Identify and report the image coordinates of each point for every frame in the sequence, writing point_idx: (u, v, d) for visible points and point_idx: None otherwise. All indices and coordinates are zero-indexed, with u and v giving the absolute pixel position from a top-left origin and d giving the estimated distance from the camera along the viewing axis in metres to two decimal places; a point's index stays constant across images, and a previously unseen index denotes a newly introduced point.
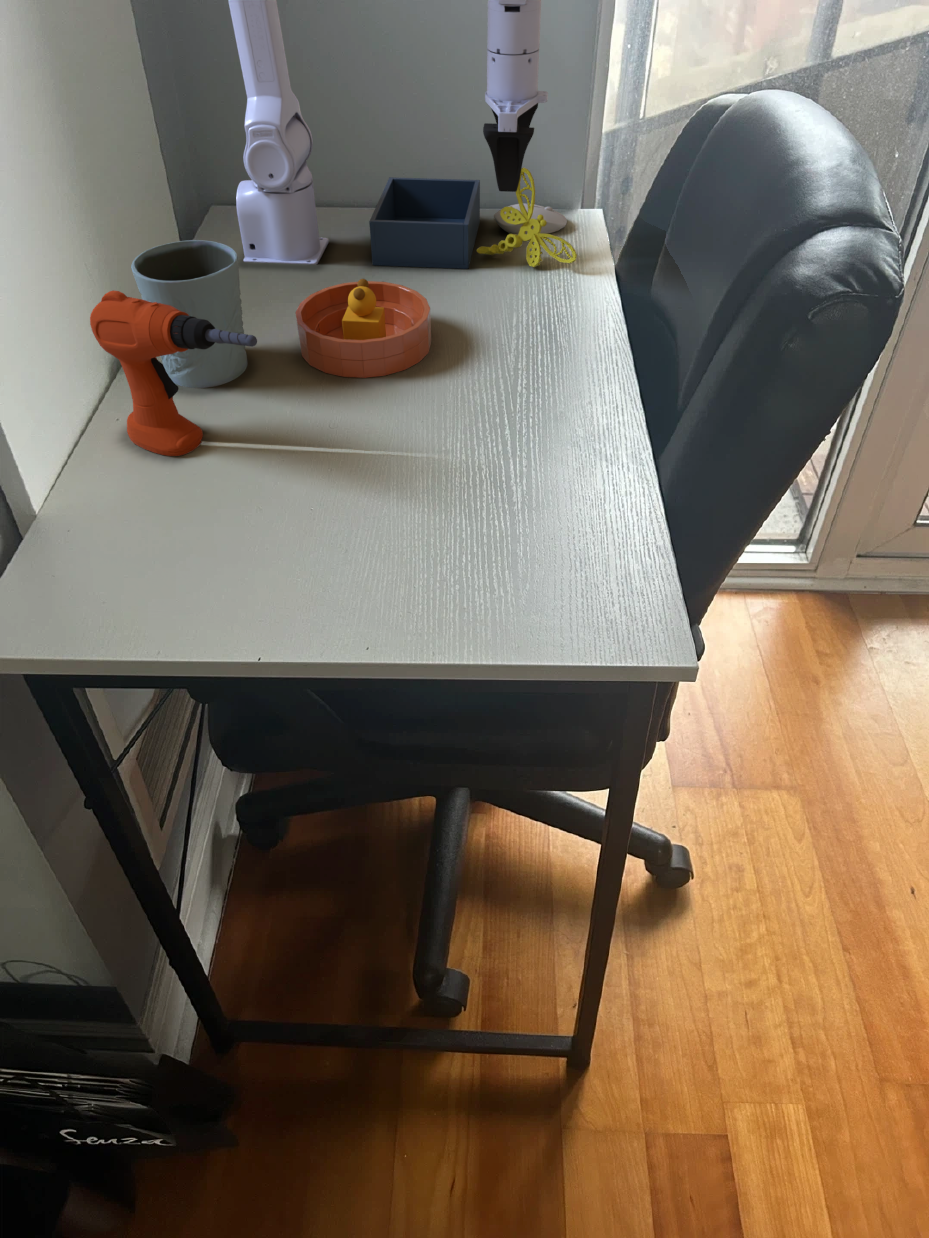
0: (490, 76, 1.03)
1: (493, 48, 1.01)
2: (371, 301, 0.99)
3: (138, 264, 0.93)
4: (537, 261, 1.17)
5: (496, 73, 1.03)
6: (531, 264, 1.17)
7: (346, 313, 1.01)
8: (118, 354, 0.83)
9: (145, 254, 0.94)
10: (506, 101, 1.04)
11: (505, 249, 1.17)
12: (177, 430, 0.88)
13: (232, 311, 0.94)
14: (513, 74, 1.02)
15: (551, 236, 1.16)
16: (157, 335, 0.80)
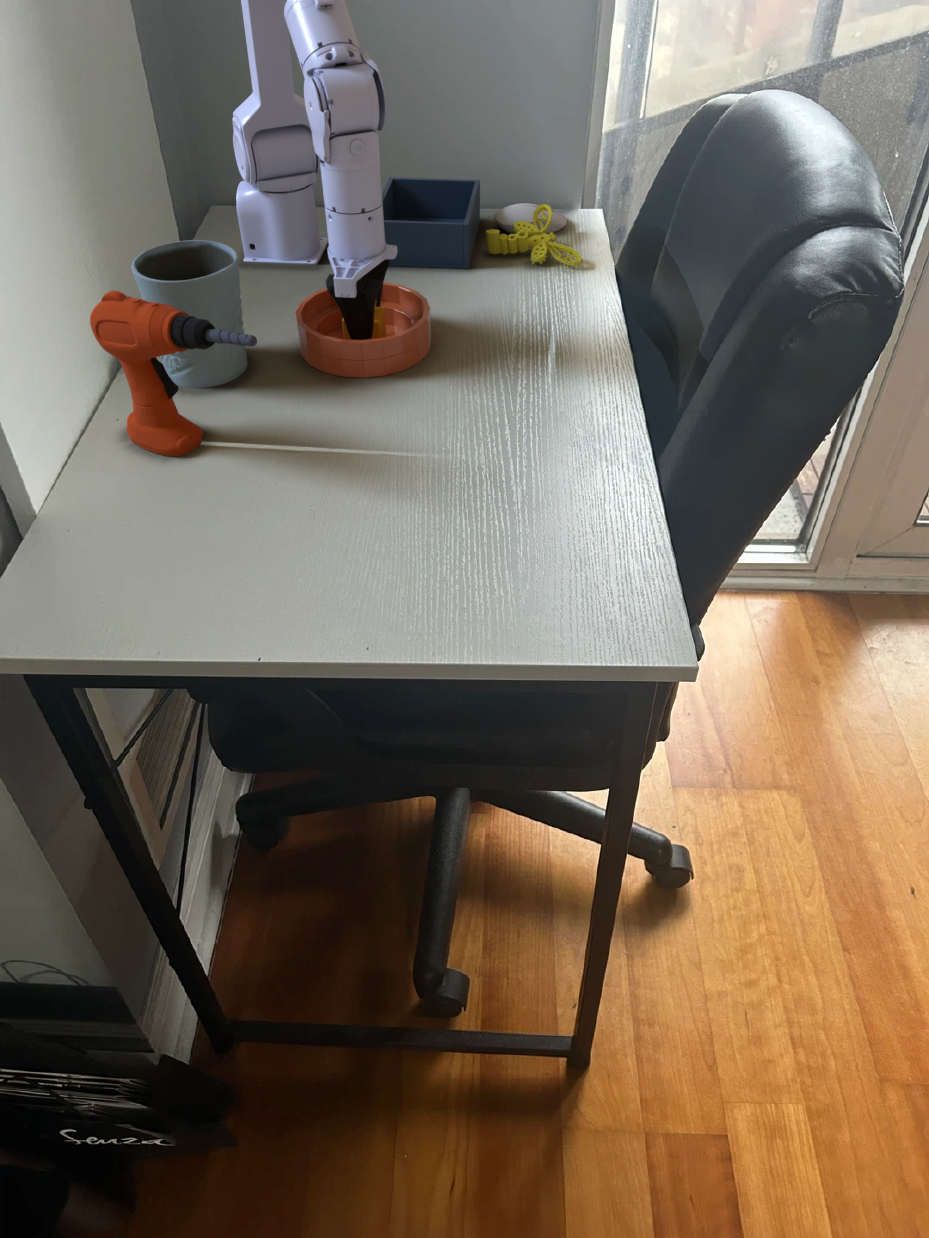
0: (329, 233, 0.93)
1: None
2: None
3: (138, 264, 0.93)
4: (542, 256, 1.18)
5: (334, 230, 0.92)
6: (535, 257, 1.18)
7: None
8: (118, 354, 0.83)
9: (145, 254, 0.94)
10: (347, 260, 0.94)
11: (513, 240, 1.19)
12: (177, 430, 0.88)
13: (232, 311, 0.94)
14: (352, 233, 0.92)
15: (560, 245, 1.19)
16: (157, 335, 0.80)
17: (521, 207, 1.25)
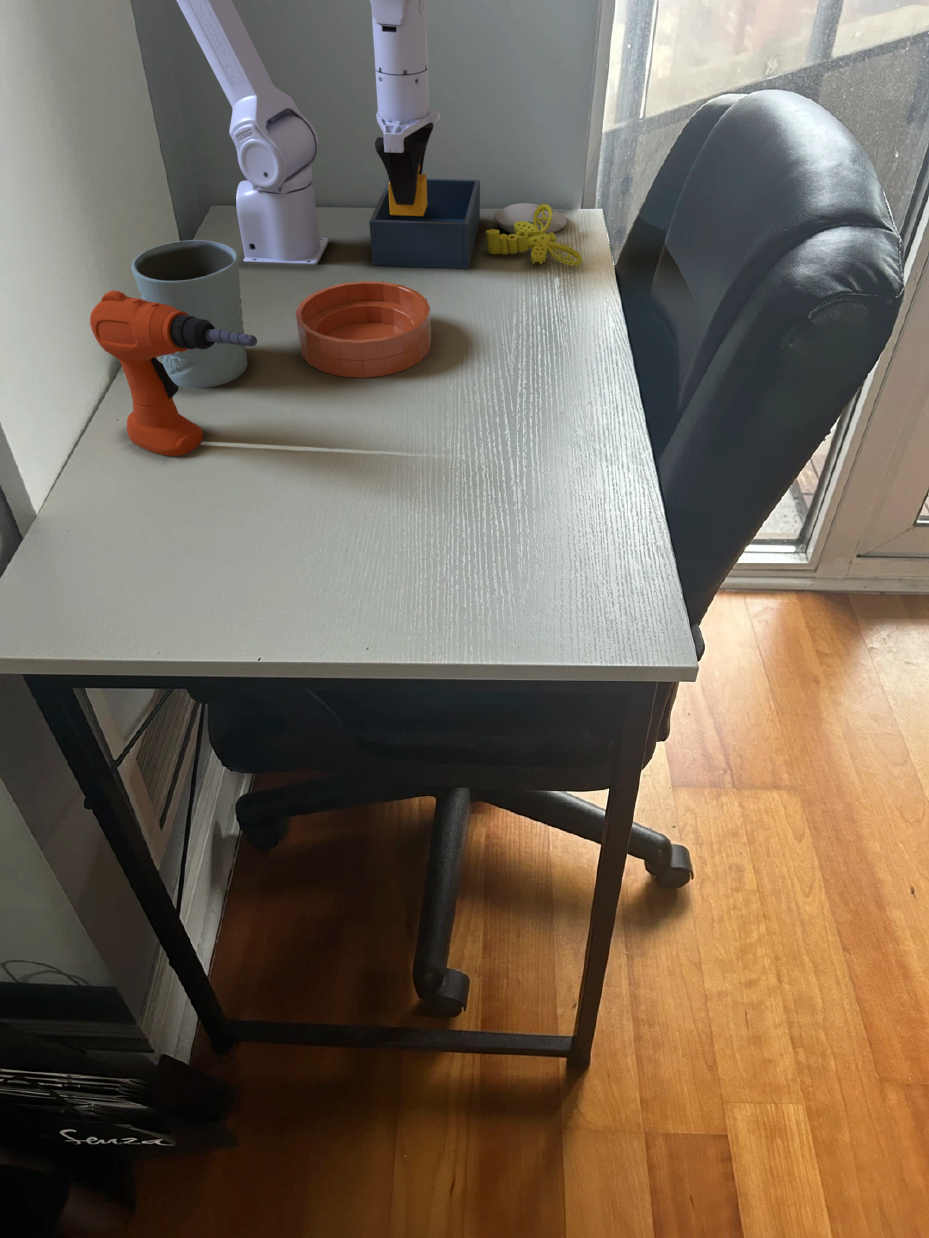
0: (379, 96, 1.03)
1: (377, 67, 1.01)
2: None
3: (138, 264, 0.93)
4: (542, 256, 1.18)
5: (383, 92, 1.02)
6: (535, 257, 1.18)
7: None
8: (118, 354, 0.83)
9: (145, 254, 0.94)
10: (395, 121, 1.03)
11: (513, 240, 1.19)
12: (177, 430, 0.88)
13: (232, 311, 0.94)
14: (400, 94, 1.01)
15: (560, 245, 1.19)
16: (157, 335, 0.80)
17: (521, 207, 1.25)
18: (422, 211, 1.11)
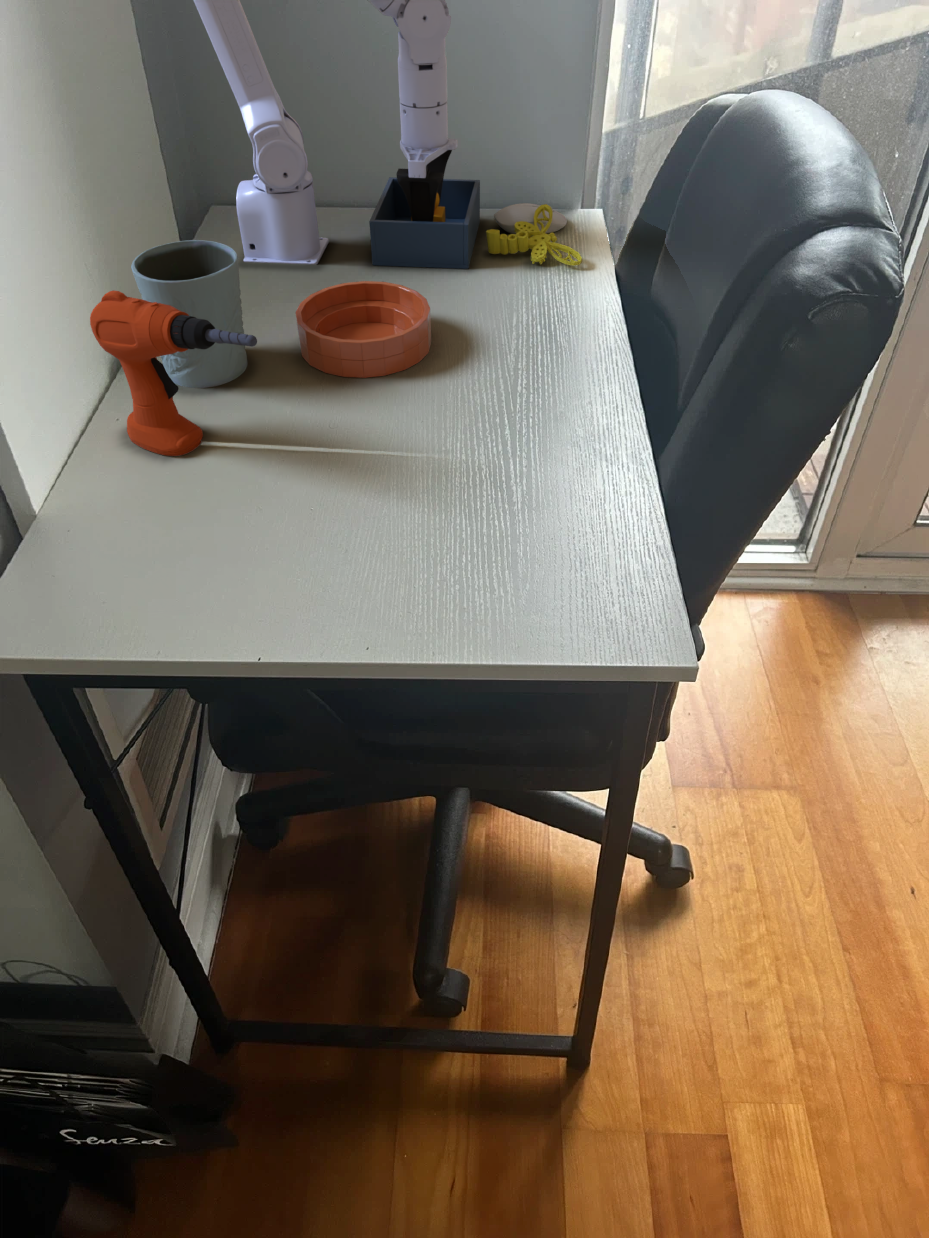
0: (403, 126, 1.13)
1: (409, 103, 1.10)
2: (436, 199, 1.19)
3: (138, 264, 0.92)
4: (542, 256, 1.18)
5: (407, 123, 1.12)
6: (535, 257, 1.18)
7: None
8: (118, 354, 0.83)
9: (145, 254, 0.94)
10: (417, 149, 1.13)
11: (514, 240, 1.19)
12: (177, 430, 0.88)
13: (232, 311, 0.94)
14: (423, 124, 1.11)
15: (560, 245, 1.19)
16: (157, 335, 0.80)
17: (521, 207, 1.25)
18: None
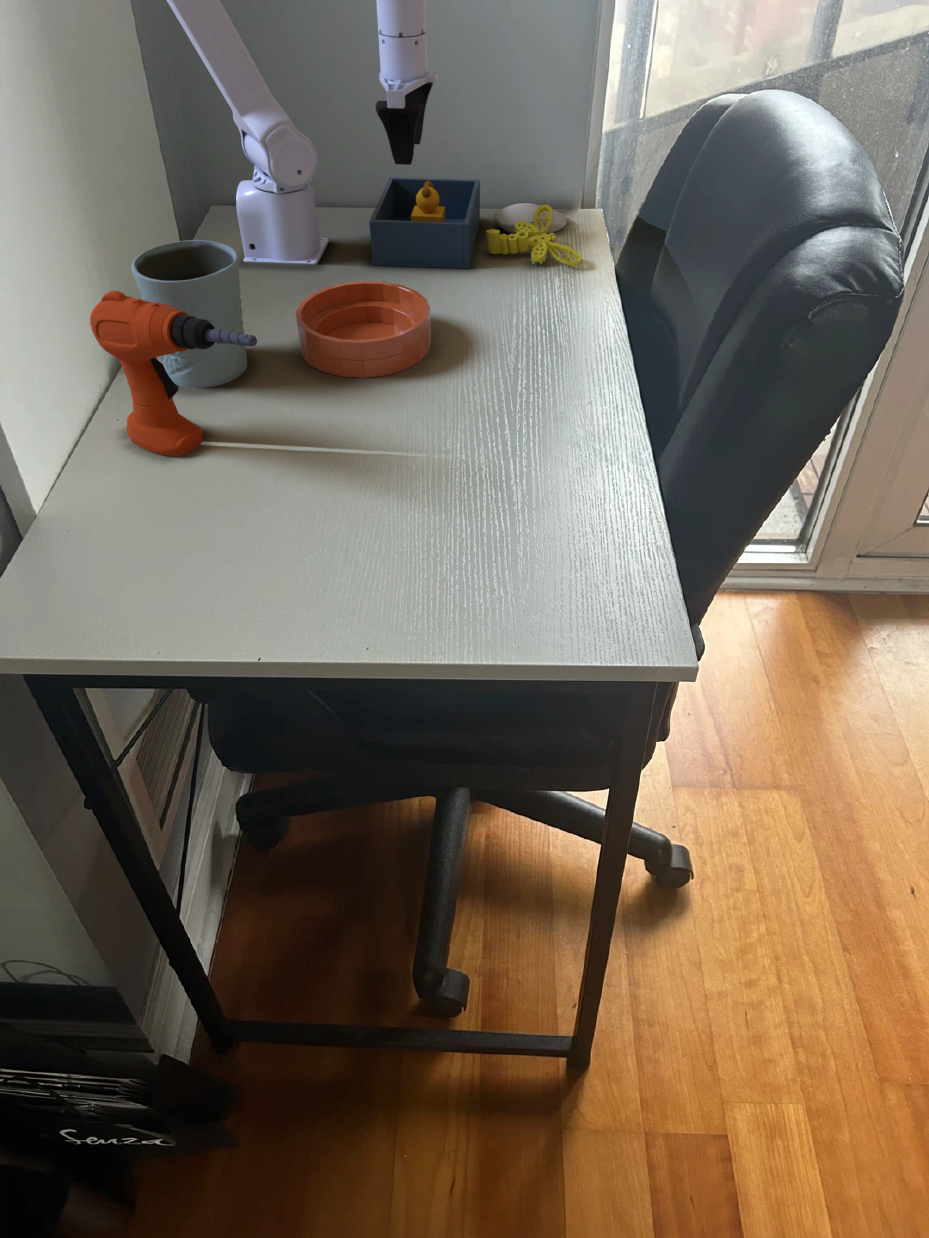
0: (381, 57, 1.12)
1: (394, 33, 1.09)
2: (436, 199, 1.19)
3: (138, 264, 0.93)
4: (542, 256, 1.18)
5: (386, 54, 1.11)
6: (535, 257, 1.18)
7: (414, 210, 1.21)
8: (118, 354, 0.83)
9: (145, 254, 0.94)
10: (396, 80, 1.13)
11: (514, 240, 1.19)
12: (177, 430, 0.88)
13: (232, 311, 0.94)
14: (401, 55, 1.11)
15: (560, 245, 1.19)
16: (157, 335, 0.80)
17: (521, 207, 1.25)
18: None
